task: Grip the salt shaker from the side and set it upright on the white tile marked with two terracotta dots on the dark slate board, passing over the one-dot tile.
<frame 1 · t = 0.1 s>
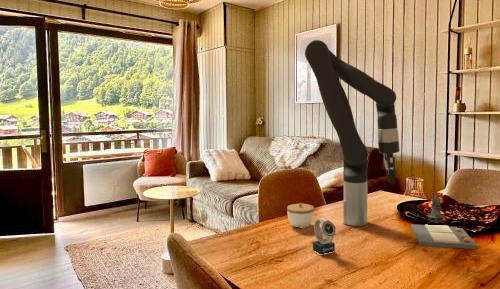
hand: (391, 181, 138), 17 cm above the table, tool pointing down, fingers open, 8 cm apart
salt shaker: (435, 225, 138), on the table
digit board: (441, 237, 125), on the table
watch: (324, 252, 116), on the table
lidded jar: (300, 226, 142), on the table
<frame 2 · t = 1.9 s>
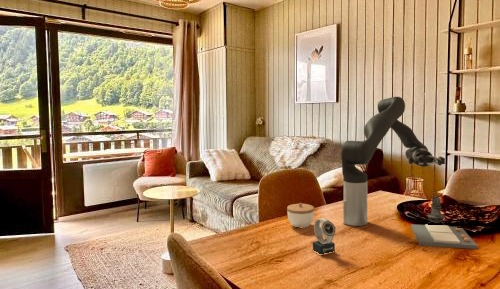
hand: (429, 162, 150), 22 cm above the table, tool horizontal, fingers open, 8 cm apart
nothing on the table moved.
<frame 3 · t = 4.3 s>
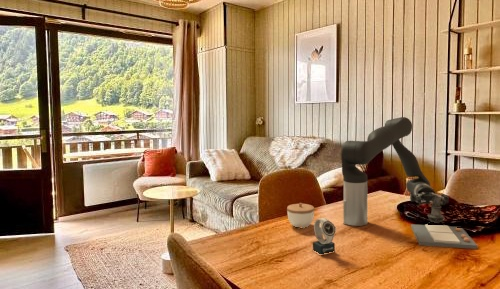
hand: (432, 202, 144), 7 cm above the table, tool horizontal, fingers open, 8 cm apart
nothing on the table moved.
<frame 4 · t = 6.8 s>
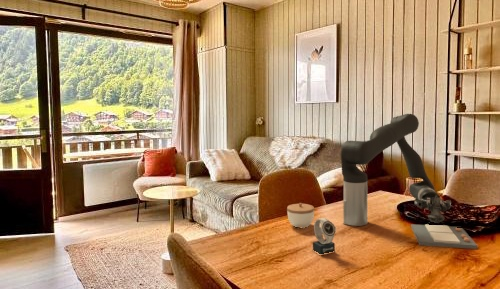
hand: (437, 209, 135), 7 cm above the table, tool horizontal, fingers closed on salt shaker, 3 cm apart
salt shaker: (435, 225, 138), on the table, touching gripper
everything else where it was.
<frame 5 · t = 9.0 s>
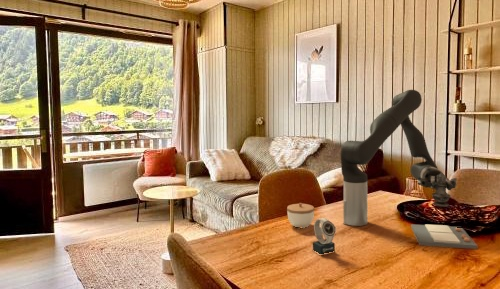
hand: (443, 187, 124), 18 cm above the table, tool horizontal, fingers closed on salt shaker, 3 cm apart
salt shaker: (440, 205, 128), point 11 cm above the table, touching gripper
everything else where it was.
when the fingers open (9 cm above the table, at t = 11.4 s): salt shaker stays where it is, resting on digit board.
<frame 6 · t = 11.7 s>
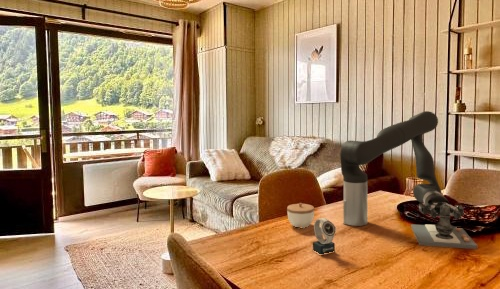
hand: (446, 215, 118), 10 cm above the table, tool horizontal, fingers open, 6 cm apart
salt shaker: (444, 237, 121), point 2 cm above the table, touching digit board
everything else where it was.
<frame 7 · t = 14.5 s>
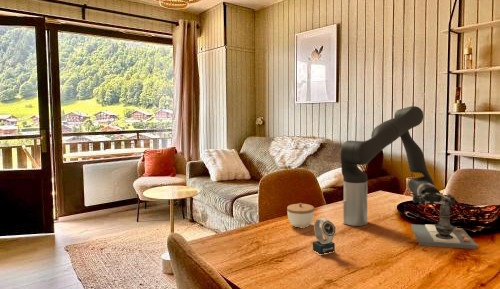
hand: (436, 203, 131), 10 cm above the table, tool horizontal, fingers open, 8 cm apart
nothing on the table moved.
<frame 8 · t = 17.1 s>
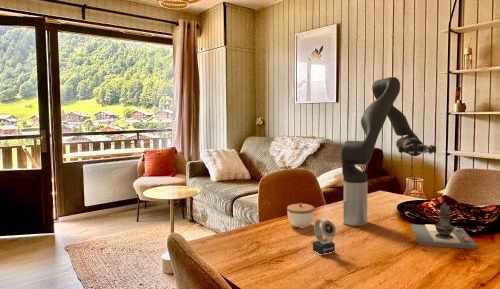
hand: (419, 151, 143), 28 cm above the table, tool horizontal, fingers open, 8 cm apart
nothing on the table moved.
at the end: salt shaker 0.1 cm from the target spot on the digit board, point 1.6 cm above the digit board's base; salt shaker tilted 0°; the gripper is holding nothing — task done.
